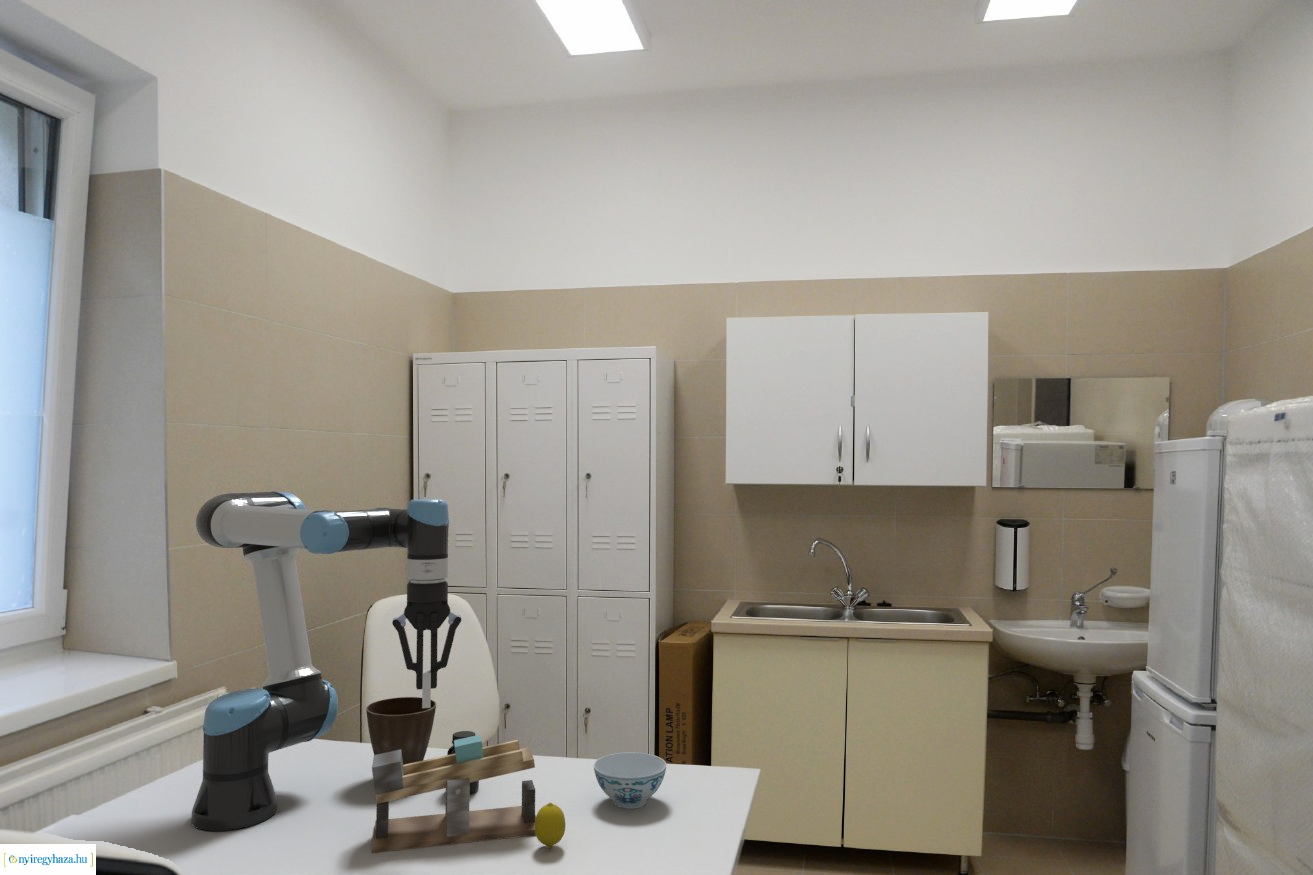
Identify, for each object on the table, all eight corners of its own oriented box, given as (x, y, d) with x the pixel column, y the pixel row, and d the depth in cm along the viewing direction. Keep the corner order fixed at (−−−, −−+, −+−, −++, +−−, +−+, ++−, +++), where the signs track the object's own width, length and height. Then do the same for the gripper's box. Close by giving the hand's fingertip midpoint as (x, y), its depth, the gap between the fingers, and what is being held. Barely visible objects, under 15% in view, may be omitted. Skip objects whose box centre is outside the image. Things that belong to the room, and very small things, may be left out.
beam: (376, 803, 156) (371, 767, 156) (378, 789, 163) (373, 754, 163) (535, 767, 163) (530, 733, 163) (530, 754, 170) (526, 721, 170)
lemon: (550, 838, 159) (550, 794, 160) (571, 846, 156) (571, 802, 156) (528, 848, 155) (528, 803, 155) (549, 857, 151) (549, 811, 152)
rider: (458, 773, 161) (454, 746, 161) (457, 765, 165) (453, 740, 165) (485, 767, 163) (481, 740, 163) (483, 760, 166) (480, 734, 166)
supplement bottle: (471, 798, 178) (471, 739, 179) (440, 795, 180) (441, 737, 180) (484, 786, 185) (484, 729, 186) (454, 783, 187) (455, 728, 187)
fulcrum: (371, 852, 153) (372, 790, 153) (375, 825, 165) (376, 767, 165) (540, 834, 161) (540, 774, 161) (532, 809, 172) (532, 754, 173)
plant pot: (410, 761, 200) (411, 692, 201) (448, 777, 190) (449, 704, 191) (351, 779, 189) (353, 706, 190) (389, 796, 179) (390, 719, 180)
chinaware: (677, 795, 180) (677, 758, 181) (647, 822, 167) (647, 781, 167) (614, 784, 187) (614, 748, 187) (580, 808, 173) (580, 770, 173)
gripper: (391, 584, 157) (389, 714, 157) (463, 581, 161) (462, 708, 160) (392, 579, 165) (391, 703, 164) (461, 577, 168) (460, 698, 167)
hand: (426, 705), depth 162 cm, fingers closed
